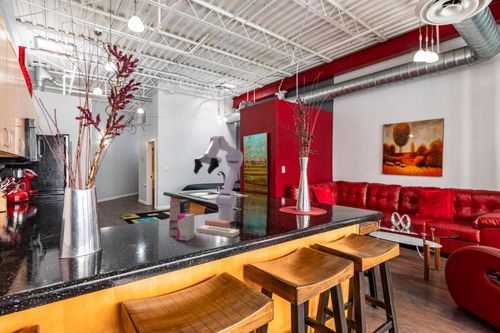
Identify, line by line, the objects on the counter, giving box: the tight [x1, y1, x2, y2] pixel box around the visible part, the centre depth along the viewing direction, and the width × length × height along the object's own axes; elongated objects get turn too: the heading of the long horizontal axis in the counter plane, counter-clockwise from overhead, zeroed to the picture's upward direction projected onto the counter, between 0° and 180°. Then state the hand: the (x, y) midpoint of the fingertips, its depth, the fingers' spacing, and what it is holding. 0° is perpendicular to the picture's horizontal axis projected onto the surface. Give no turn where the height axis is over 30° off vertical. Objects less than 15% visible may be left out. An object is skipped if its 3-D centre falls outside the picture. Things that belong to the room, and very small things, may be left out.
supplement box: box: [176, 212, 195, 243], centre depth 117 cm, size 6×6×12 cm
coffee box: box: [168, 198, 191, 237], centre depth 125 cm, size 9×6×16 cm
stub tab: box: [204, 218, 231, 228], centre depth 137 cm, size 5×12×4 cm, turn 67°
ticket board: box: [196, 224, 240, 238], centre depth 129 cm, size 7×20×2 cm, turn 67°
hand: (201, 172), depth 125 cm, fingers open, 7 cm apart
